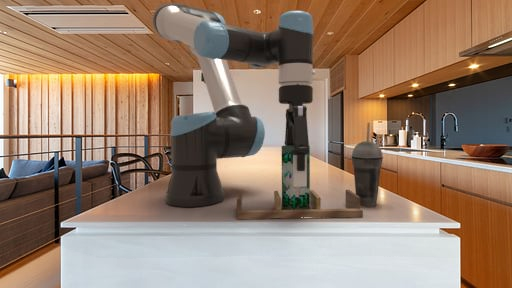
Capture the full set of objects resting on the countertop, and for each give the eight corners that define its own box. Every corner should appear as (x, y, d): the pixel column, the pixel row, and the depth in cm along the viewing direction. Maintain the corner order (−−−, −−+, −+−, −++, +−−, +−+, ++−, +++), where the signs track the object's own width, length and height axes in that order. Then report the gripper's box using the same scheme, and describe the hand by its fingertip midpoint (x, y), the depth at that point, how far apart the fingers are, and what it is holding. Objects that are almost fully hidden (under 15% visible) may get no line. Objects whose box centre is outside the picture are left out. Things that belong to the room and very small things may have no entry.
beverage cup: (377, 200, 78) (378, 122, 77) (386, 208, 71) (387, 122, 70) (348, 200, 79) (348, 123, 77) (354, 208, 71) (355, 122, 70)
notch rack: (236, 219, 64) (236, 200, 64) (238, 207, 73) (238, 191, 73) (362, 217, 64) (362, 198, 64) (348, 206, 73) (348, 189, 73)
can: (280, 214, 67) (279, 146, 66) (284, 207, 73) (284, 145, 72) (308, 216, 66) (308, 146, 65) (310, 208, 72) (310, 145, 71)
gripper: (326, 77, 55) (324, 192, 57) (302, 91, 80) (302, 171, 82) (285, 77, 55) (284, 192, 57) (274, 91, 80) (274, 171, 82)
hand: (295, 180), depth 69 cm, fingers open, 13 cm apart
